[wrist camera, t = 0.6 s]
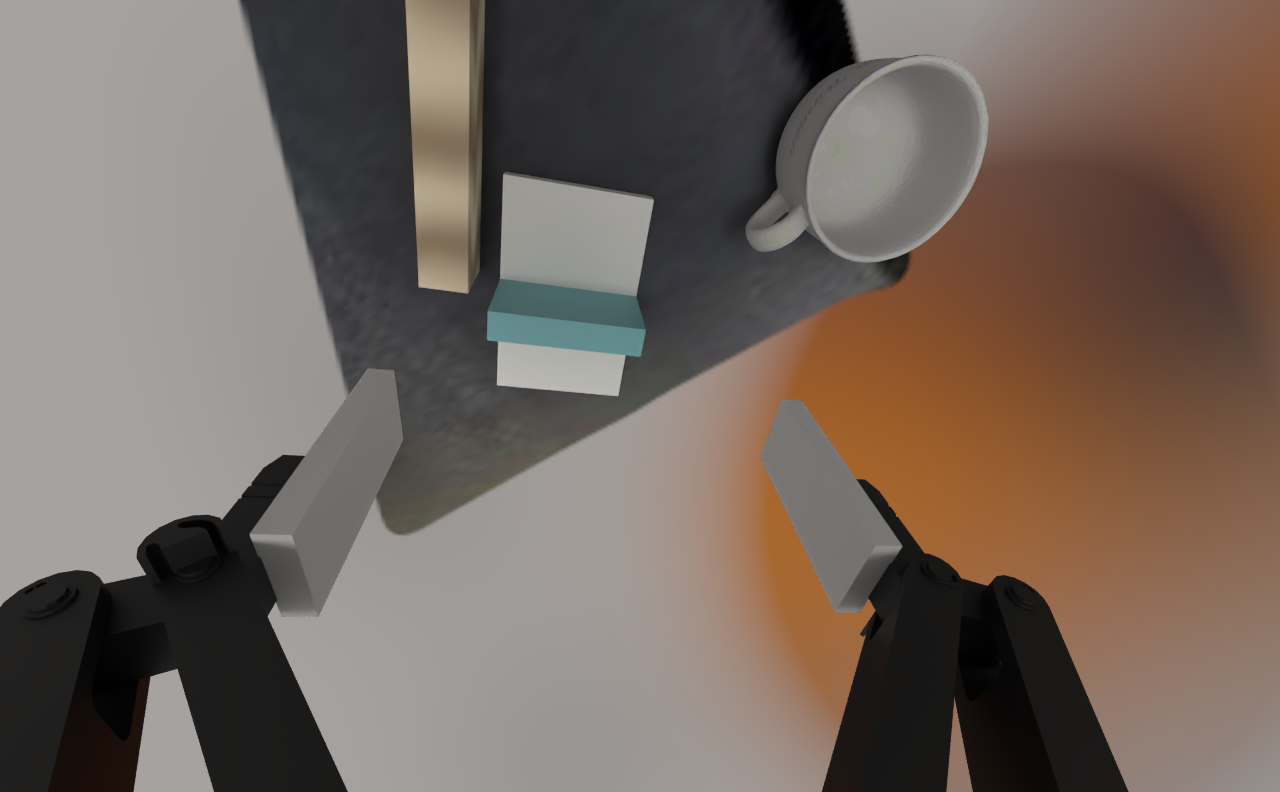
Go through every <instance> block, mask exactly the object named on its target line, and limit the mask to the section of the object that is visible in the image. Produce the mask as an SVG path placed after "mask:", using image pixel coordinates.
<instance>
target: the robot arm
mask: <svg viewBox="0 0 1280 792" xmlns="http://www.w3.org/2000/svg"><path fill="white" fill-rule="evenodd" d="M402 440H403V436H402V428H401V420H400V413H399V405H398V398H397V390H396V382H395V375H394V370H381V369H367V370H366V372H365V373H364V374H363V376H362V377H361V379H360V380H359V381H358V383H357V384H356V386H355V387H354V388H353V390H352V391H351V393H350V394H349V395H348V397H347V398H346V400H345V401H344V403H343V404H342V405H341V407H340V408H339V409H338V411H337V412H336V414H335V415H334V417H333V418H332V419H331V421H330V422H329V423H328V425H327V426H326V428H325V429H324V431H323V432H322V433H321V435H320V436H319V438H318V439H317V440H316V442H315V443H314V445H313V446H312V447H311V449H310V450H309V451H308V453H307V454H306V456H295V455H282V456H281V457H280V458H278V459H276V460H275V461H274V462H272V463H270V464H269V465H267V466H266V467H264V468H263V469H262V471H261V472H260V473H259V474H258V476H257V477H256V478H255V480H254V481H253V482H252V485H251V486H249V487H248V488H247V489H246V491H245V492H244V493H243V494H242V498H241V499H238V501H237V502H236V503H235V504H234V506H233V507H232V508H231V509H230V511H229V512H228V513H227V514H226V516H225V517H224V518H223V520H221V519H220V518H219V517H215V516H211V515H194V516H189V517H185V518H182V519H178V520H174V521H172V522H170V523H168V524H166V525H164V526H162V527H159V528H158V529H157V530H155V531H154V532H152V533H151V534H150V535H148V536H147V537H146V538H145V539H144V540H143V542H142V543H141V545H140V546H139V547H138V550H137V560H138V561H139V563H140V565H141V567H142V568H143V570H144V572H145V573H146V575H145V576H139V577H134V578H130V579H126V580H120V581H116V582H111V583H106V584H104V583H103V582H102V580H101V579H100V578H99V577H98V576H96V575H95V574H94V573H92V572H89V571H80V570H75V571H69V572H62V573H57V574H55V575H52V576H49V577H46V578H43V579H40V580H38V581H36V582H34V583H32V584H30V585H28V586H27V587H25V588H23V589H21V590H19V591H18V592H17V593H15V594H14V595H13V596H12V597H10V598H9V599H8V600H6V601H5V602H4V603H3V604H2V606H1V607H0V792H133V791H134V784H135V778H136V771H137V764H138V757H139V749H140V744H141V737H142V730H143V723H144V717H145V710H146V703H147V696H148V689H149V683H150V676H153V675H157V674H160V673H164V672H168V671H171V670H175V669H178V672H179V675H180V678H181V682H182V685H183V688H184V692H185V695H186V699H187V702H188V705H189V709H190V712H191V715H192V719H193V722H194V725H195V729H196V732H197V736H198V739H199V742H200V746H201V749H202V753H203V756H204V759H205V763H206V766H207V769H208V773H209V776H210V779H211V783H212V786H213V790H214V792H348V791H347V789H346V787H345V785H344V783H343V780H342V778H341V776H340V774H339V772H338V769H337V767H336V765H335V763H334V761H333V759H332V756H331V754H330V752H329V750H328V748H327V746H326V743H325V741H324V739H323V737H322V735H321V732H320V730H319V728H318V726H317V724H316V721H315V719H314V717H313V715H312V713H311V711H310V708H309V706H308V704H307V702H306V700H305V697H304V695H303V693H302V691H301V689H300V687H299V684H298V682H297V680H296V678H295V676H294V674H293V671H292V669H291V667H290V665H289V663H288V660H287V658H286V656H285V654H284V652H283V649H282V647H281V645H280V643H279V641H278V639H277V636H276V634H275V632H274V630H273V628H272V626H271V623H270V621H269V619H268V614H269V613H270V611H271V609H272V608H273V606H274V604H275V603H277V606H278V608H279V610H280V613H281V616H282V617H298V616H300V617H302V616H303V617H305V616H309V617H310V616H319V614H320V612H321V610H322V608H323V606H324V604H325V602H326V599H327V598H328V595H329V593H330V591H331V589H332V587H333V585H334V583H335V581H336V579H337V577H338V574H339V572H340V570H341V568H342V566H343V564H344V562H345V560H346V558H347V556H348V553H349V551H350V549H351V547H352V545H353V543H354V541H355V539H356V537H357V535H358V532H359V530H360V528H361V526H362V524H363V522H364V520H365V518H366V516H367V514H368V511H369V509H370V507H371V505H372V503H373V501H374V499H375V497H376V495H377V493H378V491H379V489H380V487H381V484H382V482H383V480H384V478H385V476H386V474H387V472H388V470H389V468H390V466H391V463H392V461H393V459H394V457H395V455H396V453H397V451H398V449H399V447H400V445H401V443H402ZM761 460H762V462H763V464H764V466H765V468H766V470H767V472H768V475H769V476H770V479H771V480H772V483H773V485H774V487H775V489H776V491H777V493H778V495H779V497H780V499H781V501H782V503H783V506H784V508H785V510H786V512H787V514H788V516H789V518H790V520H791V522H792V524H793V526H794V528H795V531H796V533H797V535H798V537H799V539H800V541H801V543H802V545H803V547H804V549H805V551H806V553H807V555H808V557H809V560H810V561H811V564H812V566H813V568H814V570H815V572H816V574H817V576H818V578H819V580H820V582H821V584H822V586H823V588H824V591H825V593H826V595H827V597H828V599H829V601H830V603H831V605H832V607H833V609H834V611H835V612H860V611H861V610H862V608H863V606H864V605H865V603H866V602H867V600H868V599H869V600H870V601H871V603H872V605H873V607H874V608H875V610H876V611H875V612H874V614H873V615H872V617H871V618H870V620H869V621H868V623H867V624H866V626H865V627H864V629H863V630H862V632H861V633H860V635H861V636H864V635H865V634H866V636H865V640H864V644H863V647H862V651H861V654H860V658H859V661H858V665H857V669H856V672H855V676H854V679H853V683H852V686H851V690H850V693H849V697H848V701H847V704H846V708H845V711H844V715H843V719H842V722H841V725H840V729H839V733H838V736H837V740H836V743H835V747H834V751H833V754H832V757H831V761H830V765H829V768H828V772H827V775H826V779H825V782H824V786H823V790H822V792H946V789H947V777H948V766H949V754H950V742H951V730H952V719H953V708H954V697H955V702H956V707H957V713H958V718H959V723H960V728H961V733H962V738H963V743H964V748H965V753H966V758H967V764H968V769H969V774H970V779H971V784H972V789H973V792H1128V790H1127V787H1126V785H1125V783H1124V780H1123V778H1122V776H1121V773H1120V771H1119V768H1118V766H1117V764H1116V761H1115V759H1114V757H1113V755H1112V752H1111V750H1110V747H1109V745H1108V743H1107V740H1106V738H1105V736H1104V733H1103V731H1102V729H1101V726H1100V724H1099V722H1098V719H1097V717H1096V715H1095V712H1094V710H1093V708H1092V705H1091V703H1090V701H1089V698H1088V696H1087V694H1086V692H1085V689H1084V687H1083V684H1082V682H1081V680H1080V677H1079V675H1078V673H1077V671H1076V668H1075V666H1074V664H1073V661H1072V659H1071V656H1070V654H1069V652H1068V649H1067V647H1066V645H1065V642H1064V640H1063V638H1062V635H1061V633H1060V631H1059V628H1058V626H1057V624H1056V621H1055V619H1054V617H1053V614H1052V612H1051V610H1050V608H1049V606H1048V604H1047V603H1046V601H1045V600H1044V598H1043V597H1042V596H1041V595H1040V594H1039V593H1038V592H1037V591H1036V590H1035V589H1033V588H1032V587H1031V586H1029V585H1027V584H1026V583H1024V582H1022V581H1020V580H1018V579H1016V578H1014V577H1009V576H1005V575H1003V576H996V578H994V580H993V581H992V582H991V583H990V584H989V585H988V586H986V585H983V584H979V583H976V582H972V581H969V580H965V579H962V578H961V577H960V576H959V574H958V573H957V571H956V570H954V569H953V568H952V567H951V566H950V565H949V564H948V563H946V562H945V561H943V560H942V559H940V558H938V557H936V556H933V555H930V554H925V553H924V552H923V551H922V549H921V548H920V546H919V545H918V544H917V542H916V541H915V540H914V538H913V537H912V536H911V534H910V533H909V532H908V530H907V529H906V527H905V526H904V525H903V523H902V522H901V520H900V519H899V518H898V517H896V514H895V512H894V511H893V509H892V508H891V507H889V506H888V503H887V501H886V500H885V499H884V497H883V496H882V495H881V493H880V492H879V491H878V490H877V489H876V488H875V487H873V486H872V485H871V484H870V483H869V482H867V481H866V480H862V479H856V478H855V477H854V476H853V474H852V473H851V471H850V470H849V468H848V467H847V466H846V464H845V463H844V461H843V460H842V458H841V457H840V455H839V454H838V453H837V451H836V450H835V448H834V447H833V445H832V444H831V442H830V441H829V439H828V438H827V437H826V435H825V434H824V433H823V431H822V430H821V428H820V426H819V425H818V424H817V422H816V421H815V419H814V418H813V416H812V415H811V414H810V412H809V411H808V410H807V408H806V406H805V405H804V404H803V402H802V401H801V400H788V399H782V400H781V403H780V406H779V409H778V411H777V414H776V416H775V419H774V422H773V425H772V427H771V430H770V433H769V435H768V438H767V441H766V444H765V446H764V449H763V452H762V455H761Z"/></svg>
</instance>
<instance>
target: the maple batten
mask: <svg viewBox="0 0 1280 792" xmlns="http://www.w3.org/2000/svg"><path fill="white" fill-rule="evenodd" d="M405 1H406V22H407V44H408V65H409V86H410V107H411V129H412V150H413V171H414V193H415V214H416V235H417V256H418V278H419V287H423V288H430V289H438V290H445V291H453V292H460V293H468V292H469V290H470V288H471V286H472V284H473V282H474V281H475V279H476V277H477V275H478V273H479V271H480V235H481V183H482V132H483V80H484V29H485V0H405Z"/></svg>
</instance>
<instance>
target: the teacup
mask: <svg viewBox="0 0 1280 792" xmlns="http://www.w3.org/2000/svg"><path fill="white" fill-rule="evenodd" d="M988 119H989V116H988V114H987V108H986V102H985V99H984V95H983V92H982V90H981V88H980V86H979V84H978V83H977V81H976V79H975V78H974V76H973V75H972V74H971V73H970V72H969V71H968V70H966V69H965V68H964V67H963V66H962V65H960V64H958V63H956V62H955V61H951V60H949V59H947V58H944V57H940V56H933V55H915V56H909V57H904V58H887V59H876V60H869V61H864V62H859V63H856V64H852V65H849V66H846V67H844V68H842V69H840V70H838V71H836V72H834V73H832V74H831V75H829V76H828V77H826V78H825V79H823V80H822V81H820V82H819V83H818V84H817V85H816V86H815V87H814V88H812V89H811V90H810V91H809V92H808V93H807V95H806V96H805V97H804V98H803V99H802V100H801V102H800V103H799V104H798V105H797V107H796V108H795V110H794V111H793V113H792V115H791V116H790V118H789V120H788V122H787V124H786V126H785V128H784V131H783V134H782V136H781V139H780V143H779V147H778V151H777V157H776V181H777V186H778V188H777V189H776V191H774V192H773V194H772V195H771V197H770V199H769V200H767V201H766V202H765V203H764V204H763V205H762V206H761V207H760V208H759V209H758V210H757V211H756V212H755V213H754V215H753V216H752V217H751V218H750V219H749V221H748V223H747V225H746V237H747V240H748V241H749V243H750V244H751V246H752V247H753V248H754V249H756V250H758V251H773V250H777V249H779V248H782V247H784V246H786V245H787V244H789V243H791V242H792V241H794V240H795V239H796V238H797V237H798V236H799V235H800V234H801V233H802V232H803V231H804V230H806V231H807V232H809V233H810V234H811V235H813V236H814V237H815V238H817V239H818V240H819V241H821V242H822V243H823V244H824V245H825V246H826V247H827V248H828V249H829V250H830V251H832V252H833V253H834V254H836V255H838V256H839V257H841V258H845V259H848V260H851V261H855V262H878V261H883V260H887V259H891V258H895V257H898V256H900V255H902V254H905V253H907V252H909V251H911V250H912V249H914V248H916V247H918V246H919V245H921V244H923V243H924V242H925V241H926V240H928V239H929V238H930V237H931V236H933V235H934V234H935V233H936V232H937V231H938V230H940V229H941V228H942V227H943V226H944V225H945V224H946V222H947V221H948V220H949V219H950V218H951V217H952V216H953V215H954V213H955V212H956V211H957V209H958V208H959V207H960V205H961V204H962V203H963V201H964V200H965V198H966V196H967V194H968V193H969V191H970V189H971V187H972V186H973V184H974V181H975V179H976V177H977V174H978V171H979V169H980V166H981V163H982V159H983V155H984V151H985V147H986V143H987V132H988ZM786 212H788V213H789V214H788V215H787V216H786V217H785V218H784V219H783V220H781V221H780V222H778V223H776V224H774V225H772V224H773V223H774V222H775V221H776V220H778V219H779V218H780V217H781V216H782V215H783V214H785V213H786ZM771 225H772V226H771Z"/></svg>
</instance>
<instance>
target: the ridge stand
mask: <svg viewBox="0 0 1280 792" xmlns="http://www.w3.org/2000/svg"><path fill="white" fill-rule="evenodd" d="M653 202H654V199H653V198H652V196H646V195H641V194H635V193H629V192H623V191H617V190H611V189H606V188H600V187H594V186H588V185H582V184H576V183H571V182H565V181H559V180H553V179H547V178H541V177H536V176H530V175H524V174H518V173H512V172H506V171H505V173H504V174H503V199H502V233H501V266H500V280H499V283H498V285H497V288H496V291H495V293H494V296H493V298H492V301H491V304H490V306H489V309H488V319H487V340H489V341H498V367H497V385H501V386H512V387H523V388H534V389H545V390H556V391H567V392H578V393H589V394H600V395H611V396H618V394H619V389H620V383H621V378H622V372H623V367H624V361H625V356H626V355H629V356H638V357H641V352H642V347H643V342H644V337H645V332H646V328H645V325H644V321H643V318H642V314H641V311H640V307H639V304H638V300H637V297H636V296H637V290H638V285H639V279H640V274H641V268H642V263H643V257H644V252H645V246H646V241H647V235H648V230H649V224H650V219H651V213H652V208H653Z"/></svg>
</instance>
